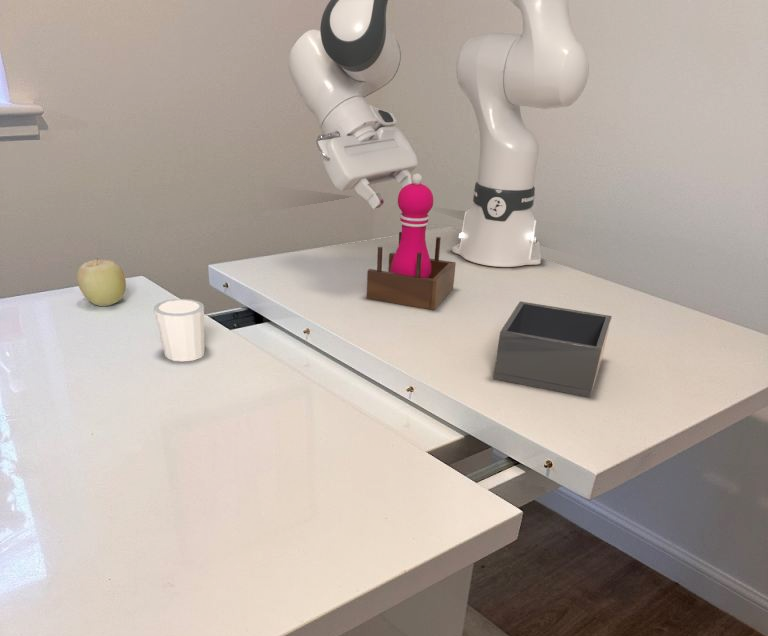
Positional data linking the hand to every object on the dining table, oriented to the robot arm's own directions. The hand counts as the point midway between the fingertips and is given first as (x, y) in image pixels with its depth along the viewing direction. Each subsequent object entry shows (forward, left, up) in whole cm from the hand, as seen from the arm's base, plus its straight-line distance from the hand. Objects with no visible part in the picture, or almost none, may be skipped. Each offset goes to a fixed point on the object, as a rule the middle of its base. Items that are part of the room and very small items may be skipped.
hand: (395, 201), depth 123 cm
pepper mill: (+1, +4, -15) cm, 16 cm away
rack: (+1, +4, -15) cm, 15 cm away
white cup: (+41, -17, -15) cm, 47 cm away
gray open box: (+23, +33, -15) cm, 43 cm away
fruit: (+29, -40, -15) cm, 52 cm away
